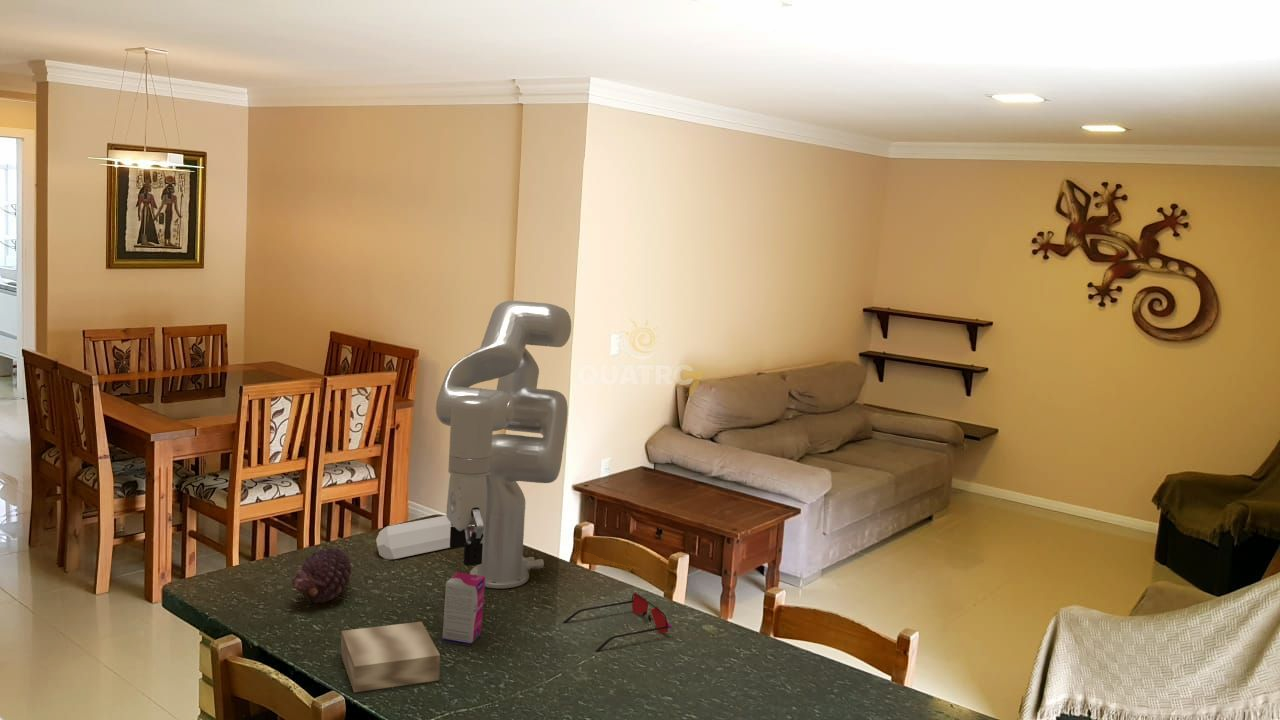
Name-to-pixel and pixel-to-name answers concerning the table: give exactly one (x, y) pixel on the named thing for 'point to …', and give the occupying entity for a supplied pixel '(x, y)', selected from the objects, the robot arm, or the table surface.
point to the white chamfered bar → (414, 537)
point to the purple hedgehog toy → (323, 575)
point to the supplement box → (463, 608)
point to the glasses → (638, 608)
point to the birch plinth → (389, 656)
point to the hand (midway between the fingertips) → (465, 555)
